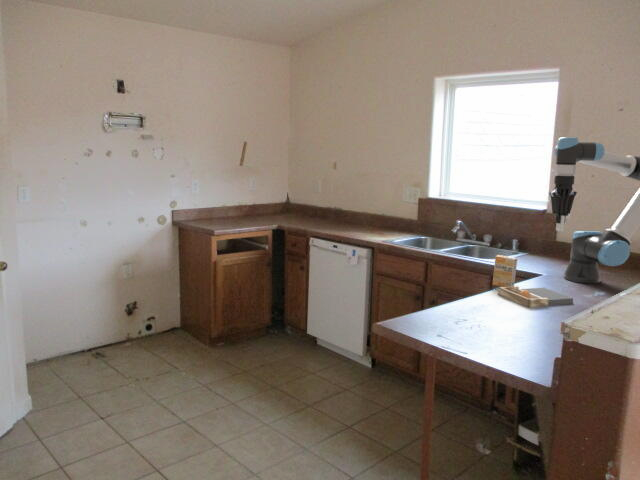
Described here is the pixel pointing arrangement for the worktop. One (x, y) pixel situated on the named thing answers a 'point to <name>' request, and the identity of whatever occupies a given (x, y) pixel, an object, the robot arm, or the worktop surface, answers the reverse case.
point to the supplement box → (504, 271)
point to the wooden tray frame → (521, 297)
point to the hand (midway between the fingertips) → (559, 230)
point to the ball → (525, 293)
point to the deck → (548, 296)
